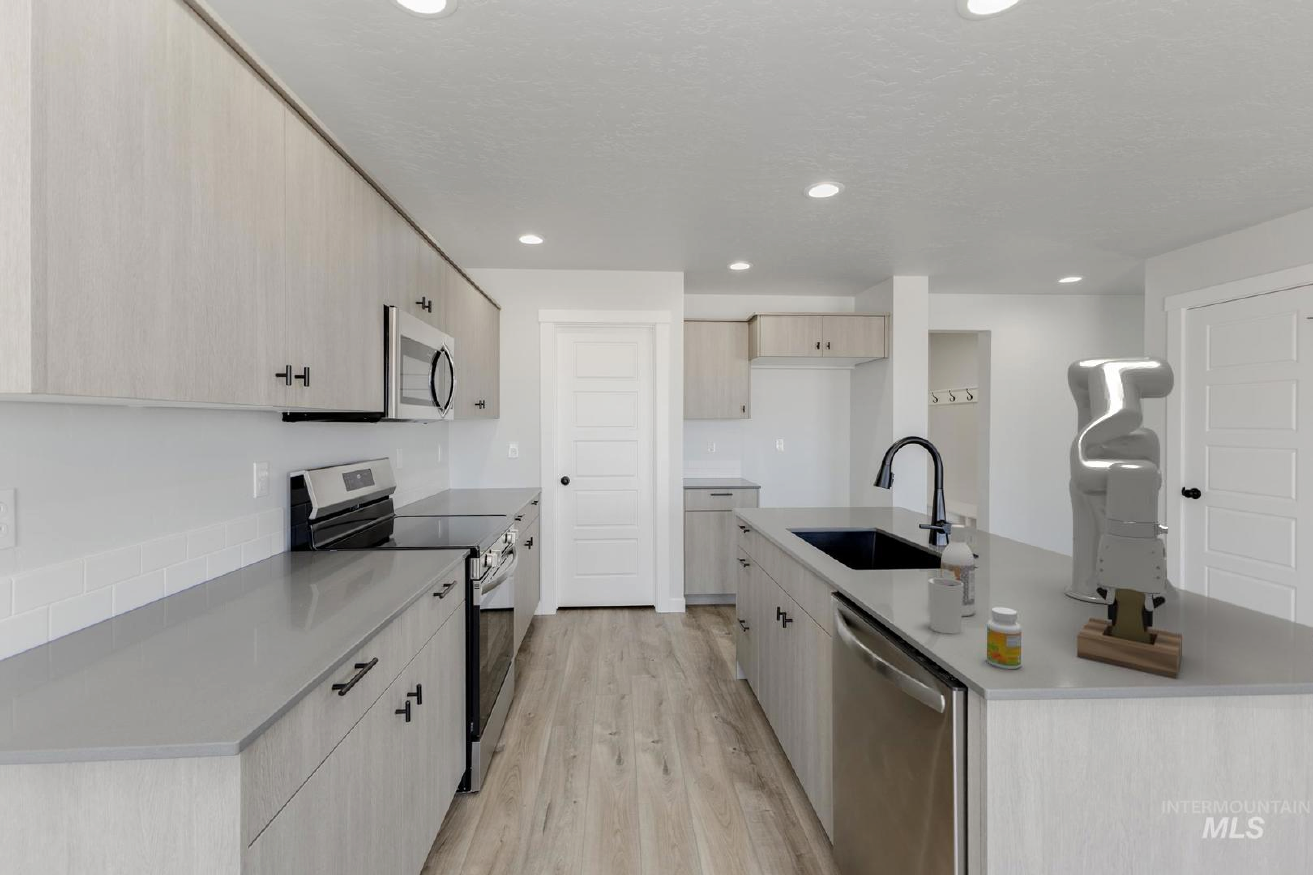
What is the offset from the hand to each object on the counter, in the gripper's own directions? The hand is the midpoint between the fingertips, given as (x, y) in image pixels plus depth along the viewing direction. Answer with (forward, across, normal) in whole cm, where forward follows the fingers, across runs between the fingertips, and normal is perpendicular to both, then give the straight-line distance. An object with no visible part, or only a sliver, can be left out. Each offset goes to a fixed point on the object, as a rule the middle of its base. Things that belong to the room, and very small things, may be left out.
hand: (1129, 626), depth 112 cm
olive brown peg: (+3, 0, 0) cm, 3 cm away
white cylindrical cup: (+6, +30, +8) cm, 32 cm away
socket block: (+6, 0, 0) cm, 6 cm away
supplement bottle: (+6, +16, +20) cm, 26 cm away
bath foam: (+6, +32, -6) cm, 33 cm away
